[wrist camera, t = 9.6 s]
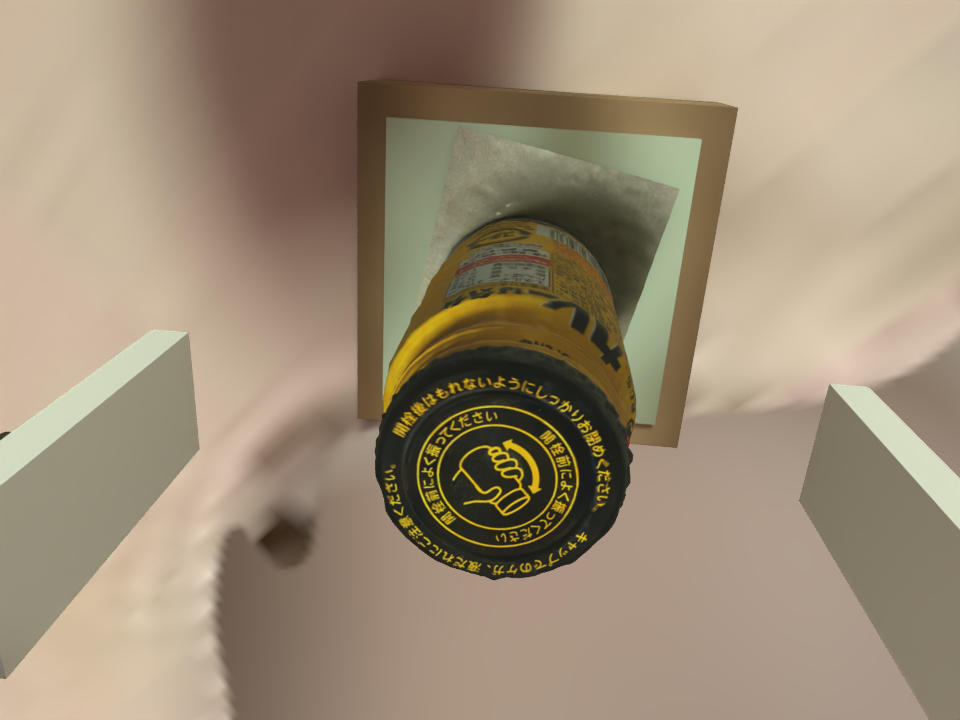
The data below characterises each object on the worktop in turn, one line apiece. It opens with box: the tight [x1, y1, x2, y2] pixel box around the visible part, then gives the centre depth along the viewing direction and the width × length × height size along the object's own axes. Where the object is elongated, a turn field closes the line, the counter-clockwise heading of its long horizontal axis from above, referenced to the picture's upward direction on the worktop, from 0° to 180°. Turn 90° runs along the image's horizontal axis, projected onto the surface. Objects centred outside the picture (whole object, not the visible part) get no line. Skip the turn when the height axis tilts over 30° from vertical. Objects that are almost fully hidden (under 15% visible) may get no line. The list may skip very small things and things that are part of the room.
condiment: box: [375, 126, 680, 580], centre depth 20 cm, size 7×8×12 cm
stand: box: [358, 79, 738, 448], centre depth 27 cm, size 12×12×3 cm
